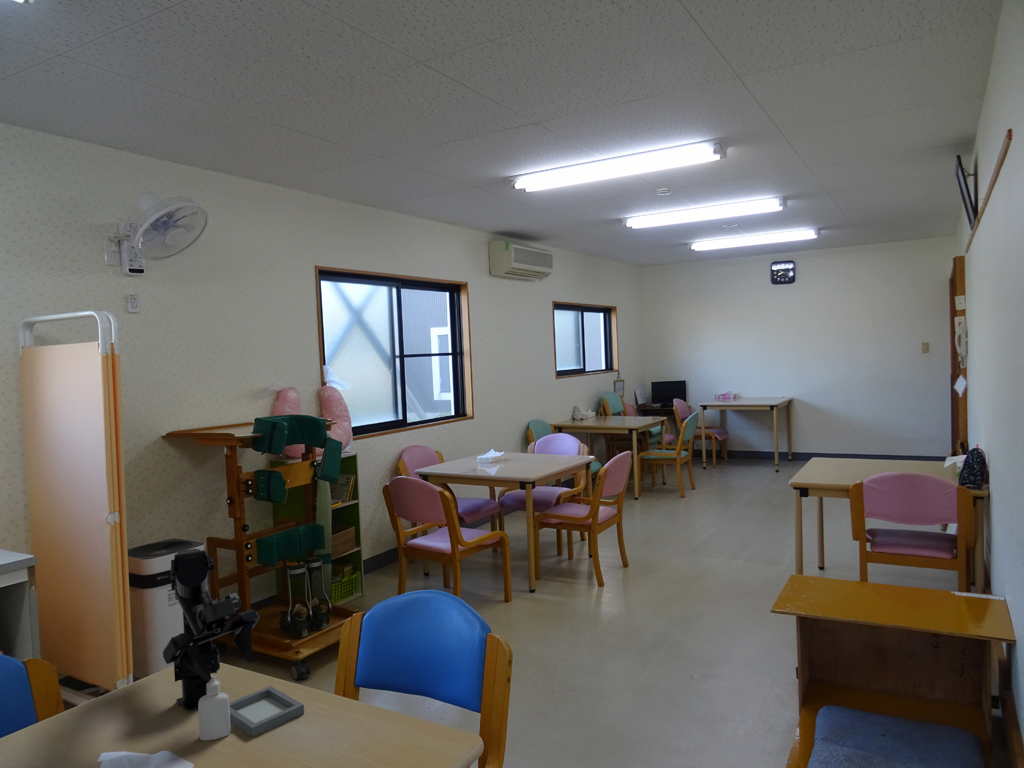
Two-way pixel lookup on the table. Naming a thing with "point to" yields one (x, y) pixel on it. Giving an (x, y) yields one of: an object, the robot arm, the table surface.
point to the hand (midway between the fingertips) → (231, 670)
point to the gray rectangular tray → (264, 711)
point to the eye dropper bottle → (214, 712)
